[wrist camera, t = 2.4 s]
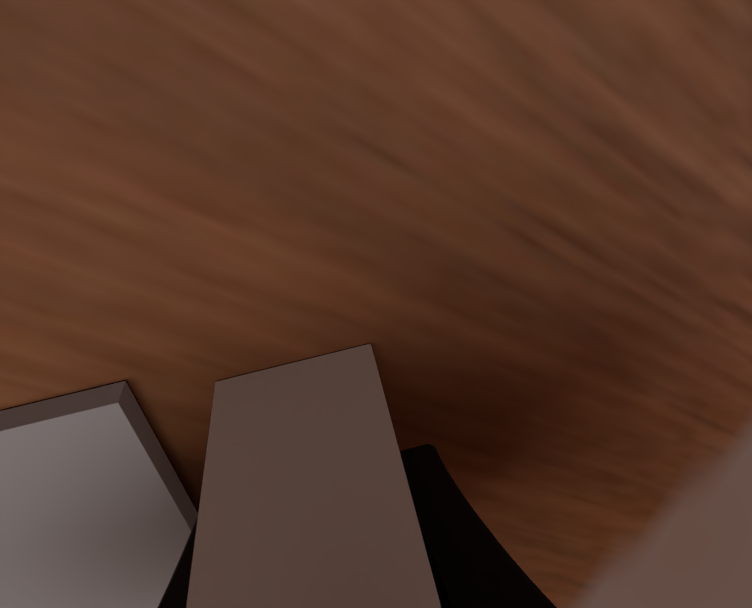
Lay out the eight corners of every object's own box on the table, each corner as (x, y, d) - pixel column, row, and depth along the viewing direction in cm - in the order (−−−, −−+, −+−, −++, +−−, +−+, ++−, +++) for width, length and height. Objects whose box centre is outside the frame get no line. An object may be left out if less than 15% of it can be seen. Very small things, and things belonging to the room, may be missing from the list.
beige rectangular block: (370, 343, 11) (462, 685, 6) (409, 509, 13) (495, 844, 8) (215, 381, 11) (165, 767, 6) (286, 542, 13) (295, 901, 8)
